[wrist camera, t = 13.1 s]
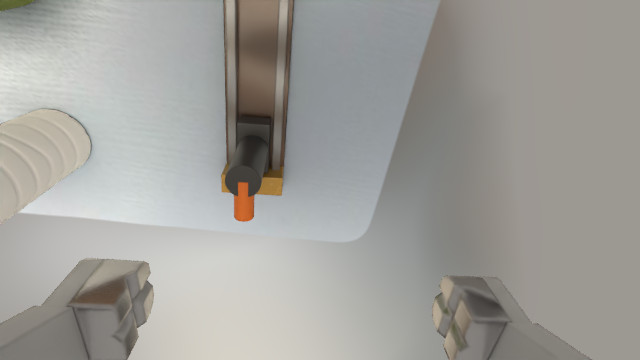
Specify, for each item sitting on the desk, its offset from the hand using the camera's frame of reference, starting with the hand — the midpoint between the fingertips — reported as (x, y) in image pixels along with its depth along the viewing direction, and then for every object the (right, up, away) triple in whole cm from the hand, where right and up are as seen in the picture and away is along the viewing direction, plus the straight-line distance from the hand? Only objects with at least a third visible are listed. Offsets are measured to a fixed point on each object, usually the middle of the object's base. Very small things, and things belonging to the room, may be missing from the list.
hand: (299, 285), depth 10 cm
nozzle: (-6, +7, +25) cm, 27 cm away
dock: (-6, +4, +28) cm, 29 cm away
